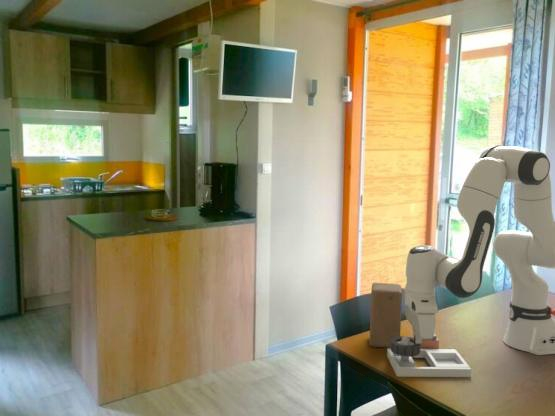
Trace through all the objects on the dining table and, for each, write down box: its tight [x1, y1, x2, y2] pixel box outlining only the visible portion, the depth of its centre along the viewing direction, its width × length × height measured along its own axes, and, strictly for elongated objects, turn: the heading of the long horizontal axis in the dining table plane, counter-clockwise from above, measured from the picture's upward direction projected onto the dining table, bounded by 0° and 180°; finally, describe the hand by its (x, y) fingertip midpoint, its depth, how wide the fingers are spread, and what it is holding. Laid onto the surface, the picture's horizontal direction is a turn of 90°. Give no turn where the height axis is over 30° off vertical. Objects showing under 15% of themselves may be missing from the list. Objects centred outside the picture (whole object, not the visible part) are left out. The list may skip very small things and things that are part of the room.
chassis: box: [386, 336, 472, 378], centre depth 162 cm, size 22×14×9 cm, turn 90°
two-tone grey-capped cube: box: [421, 332, 440, 349], centre depth 173 cm, size 6×5×6 cm
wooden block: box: [369, 282, 403, 349], centre depth 179 cm, size 10×10×20 cm
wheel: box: [389, 335, 421, 357], centre depth 162 cm, size 9×9×3 cm
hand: (417, 341), depth 161 cm, fingers closed, pressing on wheel
